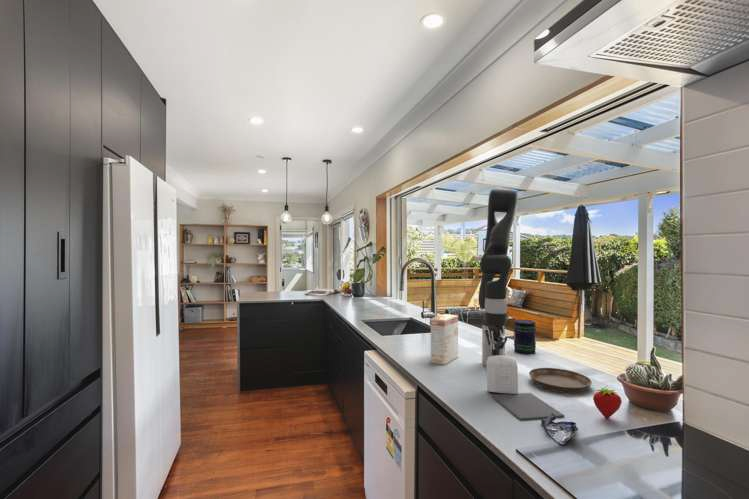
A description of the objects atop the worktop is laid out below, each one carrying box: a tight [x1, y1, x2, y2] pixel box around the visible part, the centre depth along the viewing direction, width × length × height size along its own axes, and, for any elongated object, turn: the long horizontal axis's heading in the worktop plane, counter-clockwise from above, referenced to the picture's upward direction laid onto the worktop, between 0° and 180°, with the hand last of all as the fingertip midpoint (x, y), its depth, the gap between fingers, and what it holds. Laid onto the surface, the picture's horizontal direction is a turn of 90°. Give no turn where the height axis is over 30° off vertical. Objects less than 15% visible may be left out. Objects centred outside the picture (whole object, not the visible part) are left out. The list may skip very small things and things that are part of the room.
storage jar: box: [513, 319, 537, 356], centre depth 185 cm, size 10×10×15 cm
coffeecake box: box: [430, 313, 459, 366], centre depth 171 cm, size 15×7×20 cm, turn 144°
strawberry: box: [592, 384, 622, 419], centre depth 111 cm, size 6×8×10 cm
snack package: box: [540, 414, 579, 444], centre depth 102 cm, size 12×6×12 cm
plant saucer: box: [528, 367, 592, 394], centre depth 139 cm, size 21×21×3 cm
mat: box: [491, 392, 565, 421], centre depth 120 cm, size 18×14×1 cm
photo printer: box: [485, 355, 519, 394], centre depth 131 cm, size 10×4×12 cm, turn 73°
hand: (495, 359), depth 135 cm, fingers closed
